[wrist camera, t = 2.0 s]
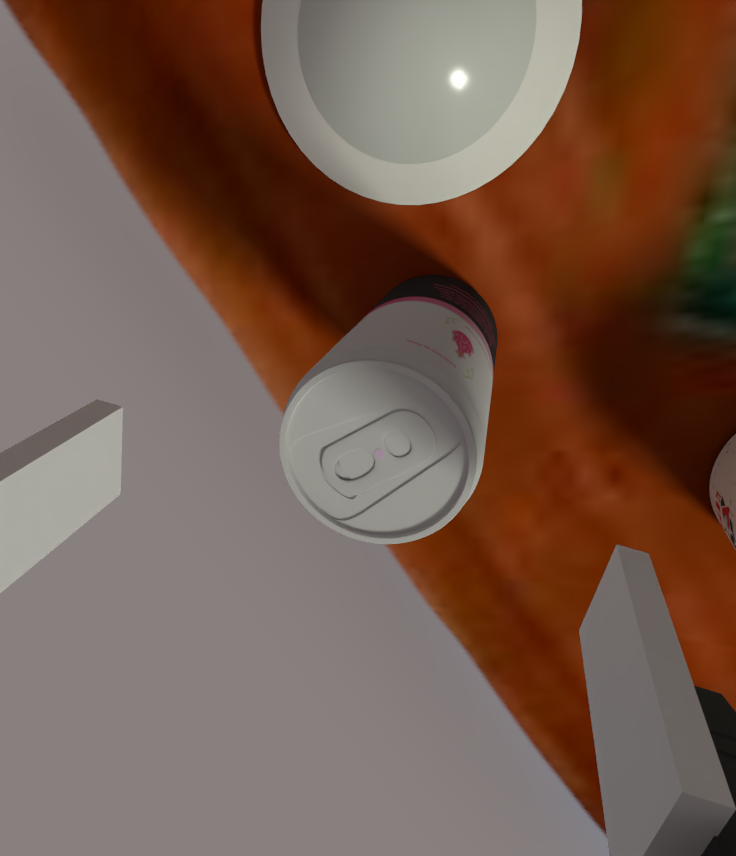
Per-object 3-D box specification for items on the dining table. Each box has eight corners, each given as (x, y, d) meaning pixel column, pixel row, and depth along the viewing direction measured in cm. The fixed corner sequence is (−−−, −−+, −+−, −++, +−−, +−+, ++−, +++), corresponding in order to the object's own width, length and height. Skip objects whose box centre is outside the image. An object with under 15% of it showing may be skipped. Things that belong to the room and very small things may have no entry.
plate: (287, -192, 26) (282, -201, 25) (632, -139, 24) (635, -148, 23) (249, 170, 31) (244, 171, 31) (524, 233, 30) (524, 234, 29)
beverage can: (349, 313, 33) (234, 415, 20) (458, 248, 31) (411, 313, 17) (411, 415, 35) (344, 575, 21) (520, 361, 32) (522, 502, 19)
